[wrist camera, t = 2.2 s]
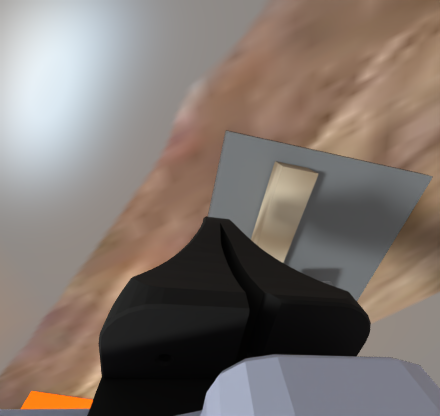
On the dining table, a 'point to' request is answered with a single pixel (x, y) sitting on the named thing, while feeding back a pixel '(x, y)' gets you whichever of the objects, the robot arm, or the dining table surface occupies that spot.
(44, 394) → the orange juice
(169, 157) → the dining table surface
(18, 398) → the dining table surface
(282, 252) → the link
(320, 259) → the board
